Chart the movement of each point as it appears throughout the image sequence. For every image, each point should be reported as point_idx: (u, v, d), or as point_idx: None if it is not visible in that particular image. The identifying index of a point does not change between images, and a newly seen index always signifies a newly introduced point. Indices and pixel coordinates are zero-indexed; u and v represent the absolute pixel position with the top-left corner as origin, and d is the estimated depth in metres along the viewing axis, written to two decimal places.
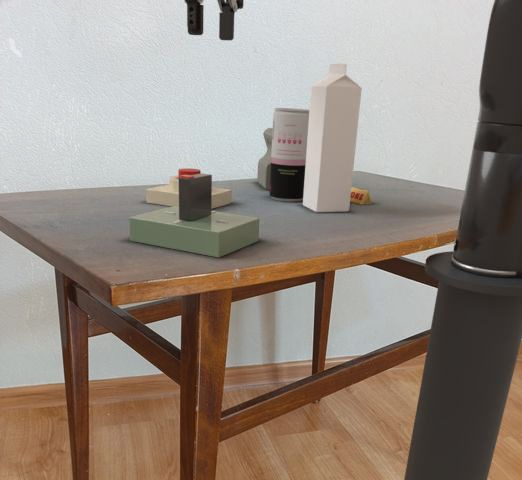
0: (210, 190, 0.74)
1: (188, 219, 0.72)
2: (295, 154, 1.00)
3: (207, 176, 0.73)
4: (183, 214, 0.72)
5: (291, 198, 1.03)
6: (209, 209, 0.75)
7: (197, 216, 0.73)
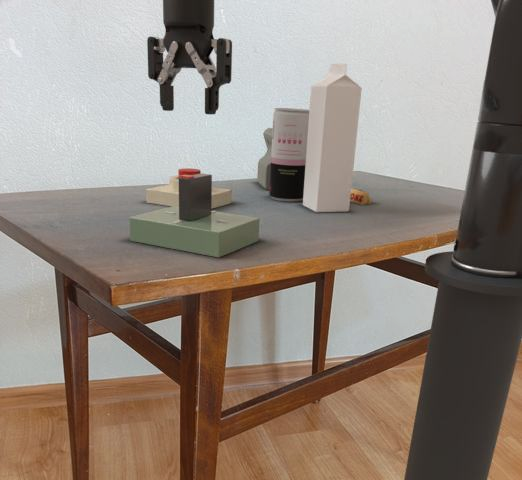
0: (210, 190, 0.74)
1: (188, 219, 0.72)
2: (295, 154, 1.00)
3: (207, 176, 0.73)
4: (183, 214, 0.72)
5: (291, 198, 1.03)
6: (209, 209, 0.75)
7: (197, 216, 0.73)
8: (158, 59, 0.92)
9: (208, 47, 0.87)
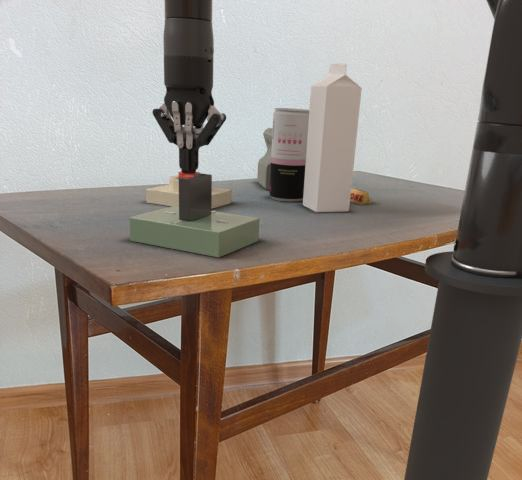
0: (210, 190, 0.74)
1: (188, 219, 0.72)
2: (295, 154, 1.00)
3: (207, 176, 0.73)
4: (183, 214, 0.72)
5: (291, 198, 1.03)
6: (209, 209, 0.75)
7: (197, 216, 0.73)
8: (170, 123, 0.95)
9: (207, 107, 0.90)
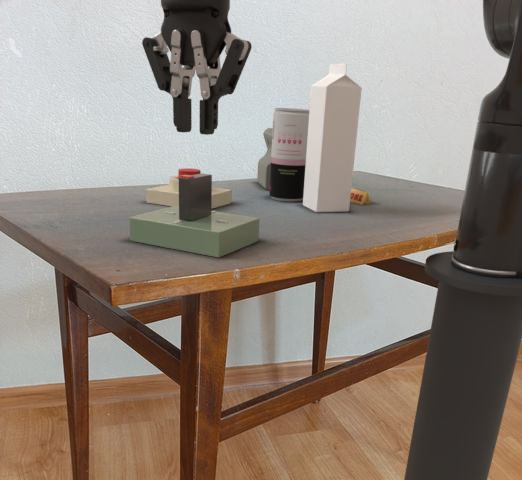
0: (210, 190, 0.74)
1: (188, 219, 0.72)
2: (295, 154, 1.00)
3: (207, 176, 0.73)
4: (183, 214, 0.72)
5: (291, 198, 1.03)
6: (209, 209, 0.75)
7: (197, 216, 0.73)
8: (164, 62, 0.69)
9: (222, 37, 0.64)
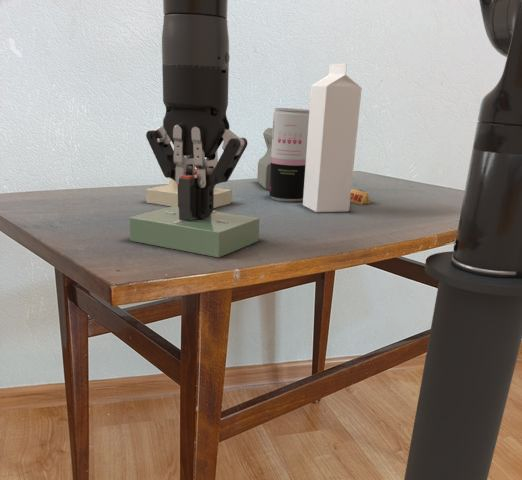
0: None
1: (188, 219, 0.72)
2: (295, 154, 1.00)
3: None
4: (183, 214, 0.72)
5: (291, 198, 1.03)
6: None
7: None
8: (168, 151, 0.73)
9: (221, 133, 0.68)
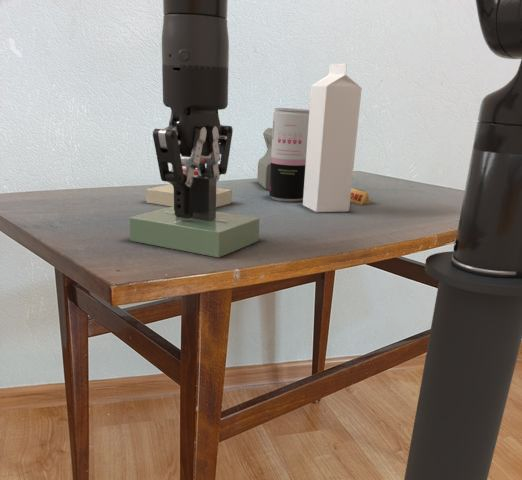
0: (207, 195, 0.71)
1: None
2: (295, 154, 1.00)
3: (202, 179, 0.71)
4: None
5: (291, 198, 1.03)
6: (205, 214, 0.72)
7: None
8: None
9: None
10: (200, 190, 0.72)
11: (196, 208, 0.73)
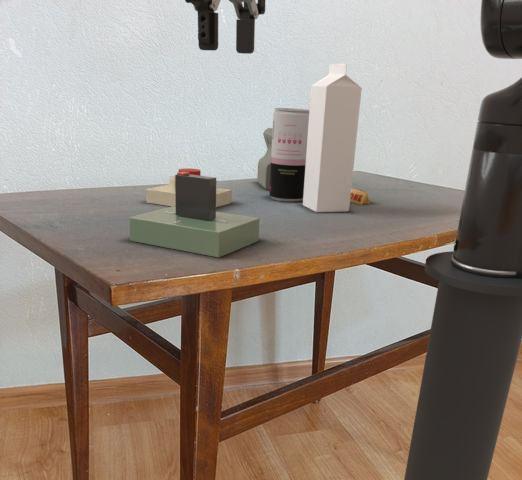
0: (207, 195, 0.71)
1: (176, 213, 0.75)
2: (295, 154, 1.00)
3: (202, 179, 0.71)
4: None
5: (291, 198, 1.03)
6: (205, 214, 0.72)
7: (186, 214, 0.74)
8: None
9: None
10: (200, 190, 0.72)
11: (196, 208, 0.73)
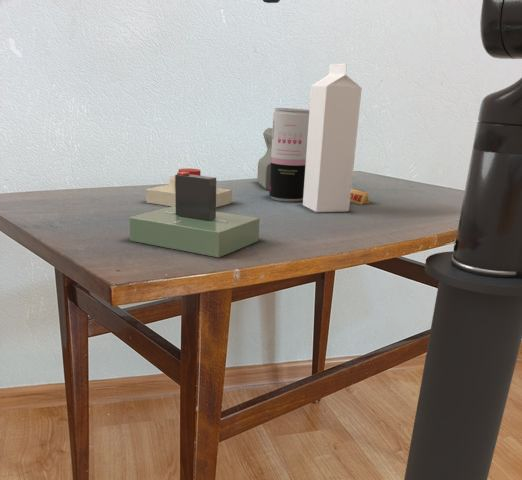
0: (207, 195, 0.71)
1: (176, 213, 0.75)
2: (295, 154, 1.00)
3: (202, 179, 0.71)
4: None
5: (291, 198, 1.03)
6: (205, 214, 0.72)
7: (186, 214, 0.74)
8: None
9: None
10: (200, 190, 0.72)
11: (196, 208, 0.73)
